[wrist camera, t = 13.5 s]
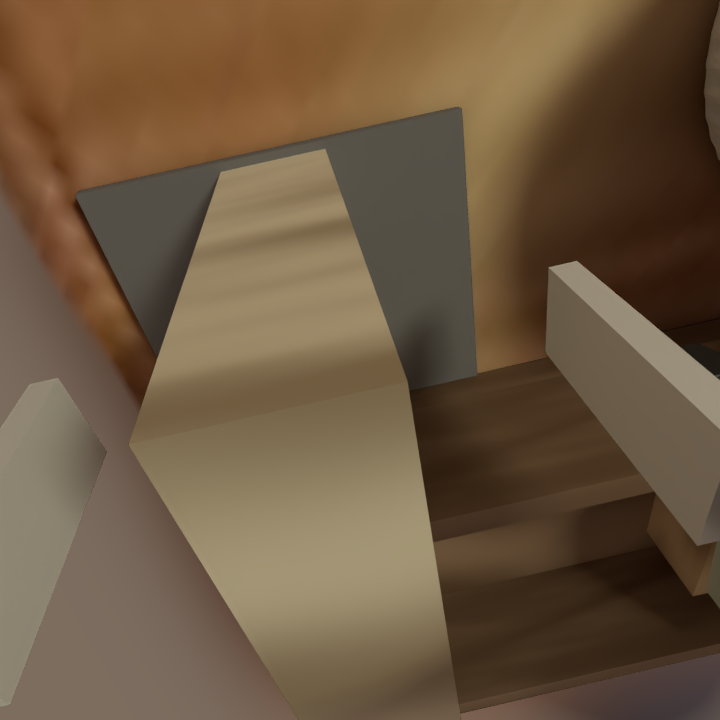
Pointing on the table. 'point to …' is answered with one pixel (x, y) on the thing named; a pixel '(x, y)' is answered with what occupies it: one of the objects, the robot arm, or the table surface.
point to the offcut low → (680, 548)
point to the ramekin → (713, 85)
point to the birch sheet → (300, 451)
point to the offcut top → (715, 577)
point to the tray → (547, 538)
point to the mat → (369, 220)
